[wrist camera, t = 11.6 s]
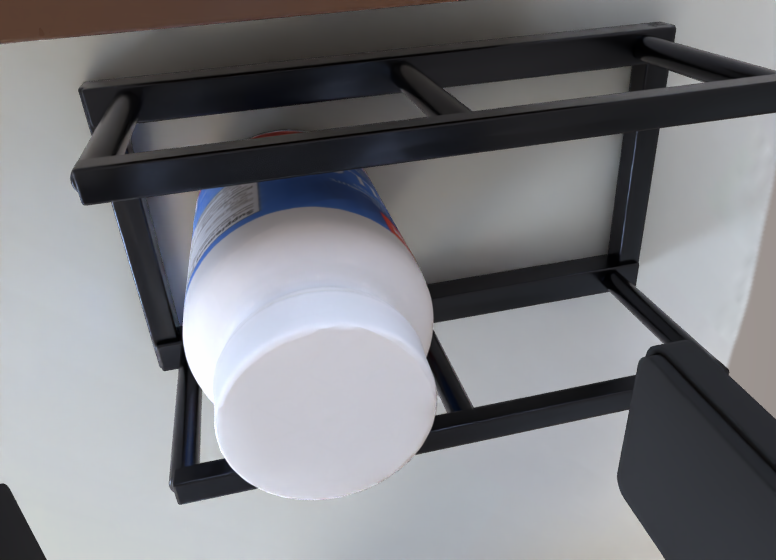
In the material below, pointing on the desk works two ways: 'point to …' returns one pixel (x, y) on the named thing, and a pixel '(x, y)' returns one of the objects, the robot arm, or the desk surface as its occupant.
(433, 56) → the wire rack
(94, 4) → the chest lid
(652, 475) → the robot arm
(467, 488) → the desk surface
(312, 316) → the pill bottle
